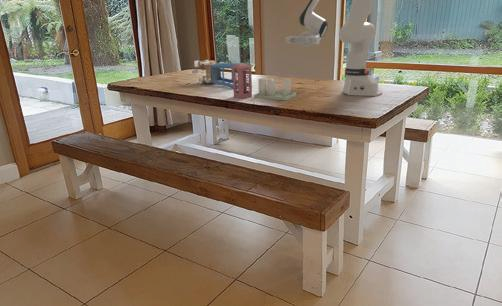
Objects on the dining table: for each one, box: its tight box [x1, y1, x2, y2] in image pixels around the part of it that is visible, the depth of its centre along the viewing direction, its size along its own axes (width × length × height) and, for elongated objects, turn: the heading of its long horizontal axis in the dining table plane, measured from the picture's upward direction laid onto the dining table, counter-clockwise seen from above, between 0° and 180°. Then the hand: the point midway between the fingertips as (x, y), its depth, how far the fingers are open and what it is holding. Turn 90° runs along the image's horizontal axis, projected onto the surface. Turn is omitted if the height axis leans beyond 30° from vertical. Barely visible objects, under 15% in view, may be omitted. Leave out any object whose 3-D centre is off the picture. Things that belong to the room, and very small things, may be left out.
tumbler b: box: [258, 78, 268, 96], centre depth 222 cm, size 5×5×10 cm
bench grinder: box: [192, 59, 251, 90], centre depth 267 cm, size 17×17×45 cm
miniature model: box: [231, 62, 253, 100], centre depth 221 cm, size 9×9×20 cm
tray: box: [253, 90, 297, 101], centre depth 222 cm, size 20×14×2 cm
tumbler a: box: [266, 78, 276, 96], centre depth 219 cm, size 5×5×10 cm
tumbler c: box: [281, 77, 292, 97], centre depth 219 cm, size 5×5×10 cm
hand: (297, 40), depth 227 cm, fingers open, 8 cm apart
